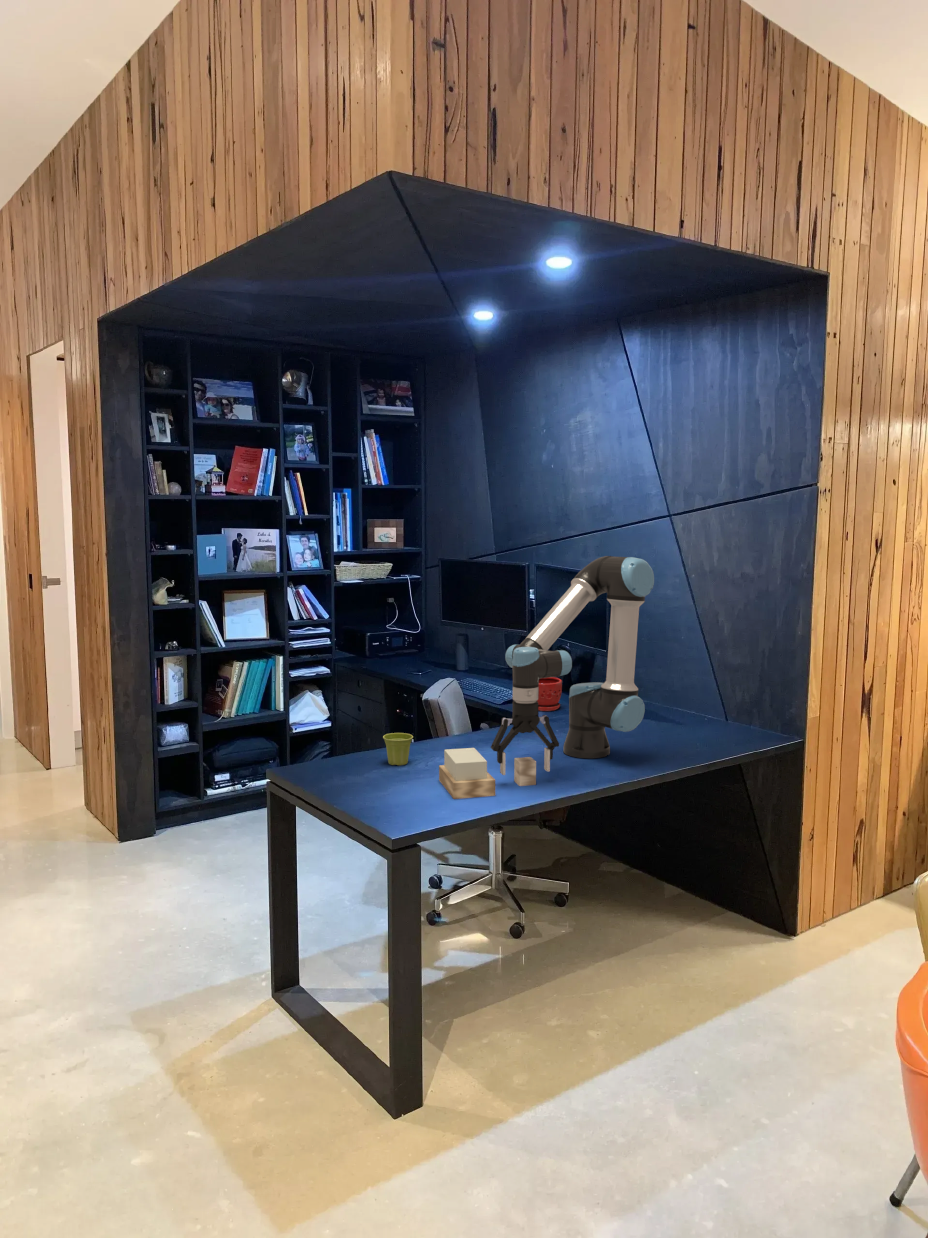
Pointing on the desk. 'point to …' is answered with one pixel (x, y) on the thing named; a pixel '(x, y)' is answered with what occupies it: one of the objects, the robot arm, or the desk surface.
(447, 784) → the bottom block
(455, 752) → the middle block
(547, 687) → the plant pot
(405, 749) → the plant pot
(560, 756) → the desk surface
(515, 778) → the ash block
